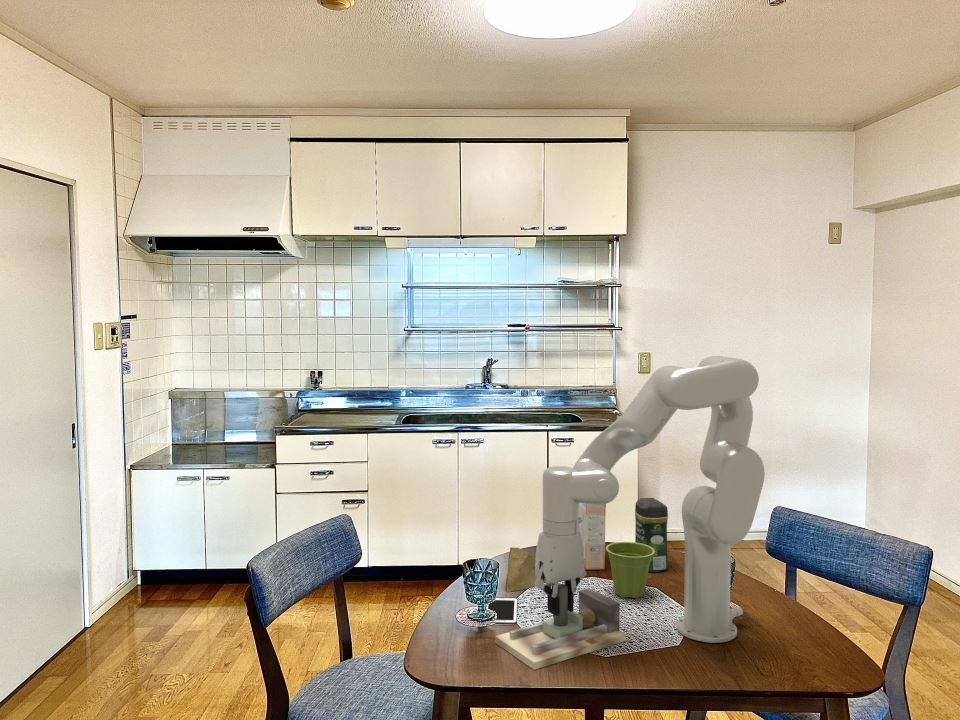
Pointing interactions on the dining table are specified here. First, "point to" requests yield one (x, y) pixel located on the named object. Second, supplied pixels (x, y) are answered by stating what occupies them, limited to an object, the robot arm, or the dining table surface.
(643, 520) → the coffee jar
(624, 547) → the plant pot
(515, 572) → the rock
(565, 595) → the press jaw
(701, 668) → the dining table surface
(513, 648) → the press frame
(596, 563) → the cracker box
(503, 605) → the cell phone
